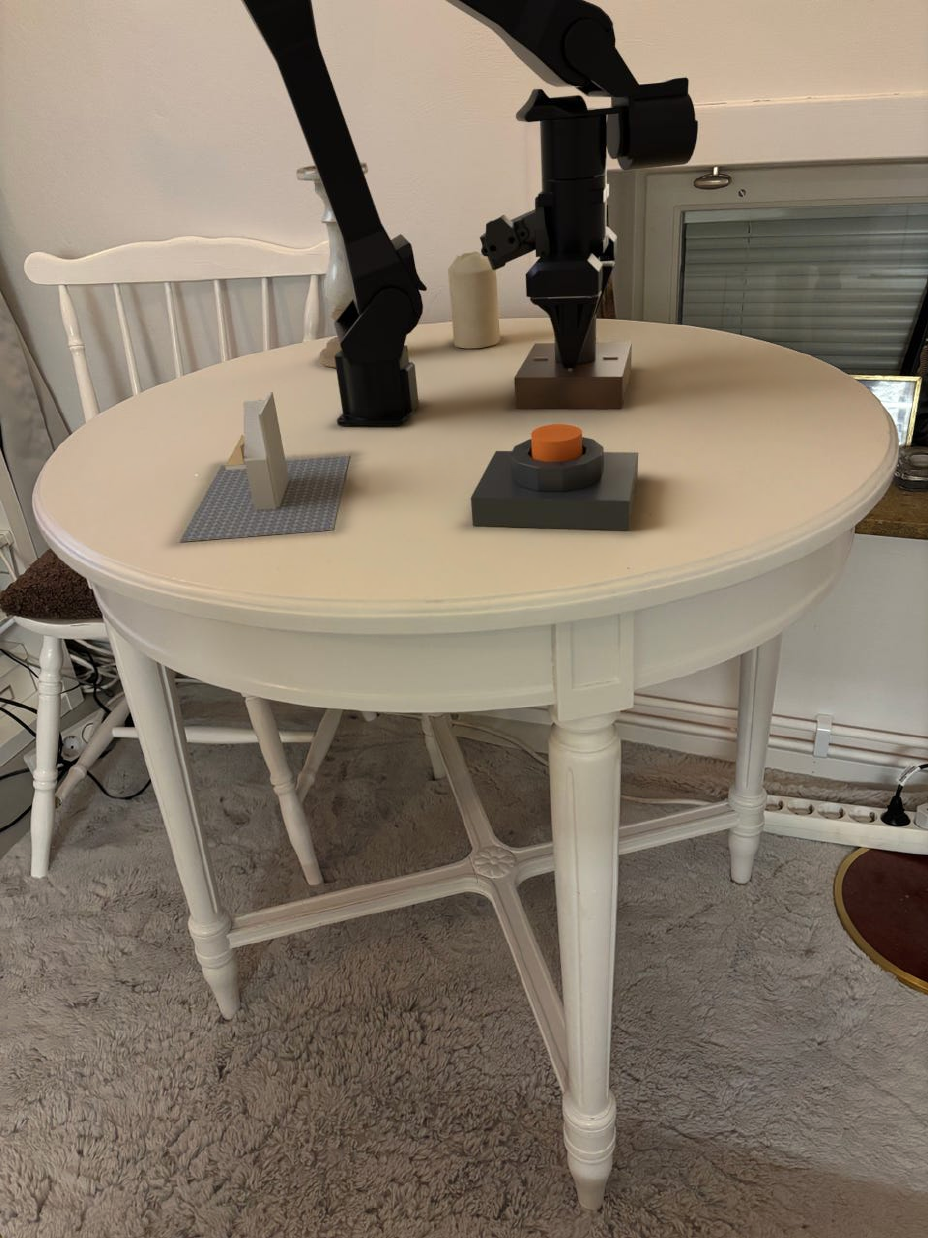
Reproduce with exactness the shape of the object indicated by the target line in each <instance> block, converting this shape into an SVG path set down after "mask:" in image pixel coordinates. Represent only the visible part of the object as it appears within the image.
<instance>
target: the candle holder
mask: <svg viewBox="0 0 928 1238" xmlns="http://www.w3.org/2000/svg"><path fill="white" fill-rule="evenodd" d="M360 164H361V166H362V169H363V172H364V175H366V174H368V172H369V167H368V164H367V163H366V162H364V161H360ZM295 176H296V179H297V180H299V181H310V182H313V184H314V192H315V194H316V195H317V196H318V197H320V199H321V201H322V203H323V205H324V211H323V214H322V217H321V220H320V222H321V223H322V224H325V226H326V231H327V236H328V245H329V257H328V259H329V260H328V265H327V269H326V272H325V276H324V281H323V292H324V296H325V297H326V299H327V301H328V302H329V303H330V304H331V305H332V306H333V307H334V308H333V311H332V312H331V313H330V318H331V319H332V320H333V321H334V322H335V321H336V319H337V318H338V317H339V316H340V314H341V313H342V312H343V310H344V309H345V308H346V306H347V305H348V304H349V302H350V301H351V300H352V298H353V297H352V292H351V287H350V282H349V277H348V273H347V268H346V262H345V256H344V251H343V245H342V239H341V234H340V231H339V228H338V225H337V223H336V220H335V217H334V215H333V212H332V209H331V207H330V204H329V201H328V199H327V196H326V193H325V191H324V188H323V185H322V183H321V180H320V177H319V175H318V172H317V169H316V167H315V164H314V165H309V166H302V167H300V168H297V169H296V171H295ZM340 350H342V349H341V346H340V343H339V340H338V336H335V337H333V338H331V339H329V340H328V341H327V342H326V347H325V348H323V349H321V350H320V352H319V361H320V363H321V364H322V365H323V366H326V367H327V368H328V367H329V368H335V369H336V365H335V358H334V355H336V354H337V353H338V352H339V351H340Z"/></svg>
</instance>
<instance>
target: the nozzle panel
mask: <svg viewBox="0 0 928 1238" xmlns="http://www.w3.org/2000/svg"><path fill="white" fill-rule="evenodd" d="M632 349H633V342H632V341H598V342H597V341H596V359H595V360H593V361H590V362H587V363H581V364H577V365H576V367H575V368H573V369H565V368H564V367H563V364H562V363H559V362H557V361H556V360H555V343H554V342H541V343H540V342H537V343H534V344H533V346H532V347H531V349H530V351H529V352H528V354H527V356H526V357H525V359H524V361H523V363H522V364H521V366H519V369H518V371H517V372H516V374H515V376H514V377H513V381H514V382H513V383H514V404H515V409H516V410H519V409H520V410H524V409H525V410H526V409H527V410H544V409H545V410H546V409H547V410H548V409H549V410H551V409H553V410H554V409H555V410H566V409H567V410H568V409H569V410H573V409H574V410H582V409H584V410H585V409H587V410H596V409H597V410H603V409H604V410H607V409H608V410H610V409H611V410H612V409H613V410H618V409H619V410H622V409H623V407H624V401H625V397H626V394H627V389H628V385H629V381H630V377H631V374H632V357H633V356H632V354H633V353H632V352H633V351H632Z"/></svg>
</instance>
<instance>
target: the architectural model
mask: <svg viewBox="0 0 928 1238" xmlns="http://www.w3.org/2000/svg"><path fill="white" fill-rule="evenodd" d="M279 423H280V422H279V417H278V412H277V407H276V402H275V397H274V392H273V391H269V392H268V395H267V397H266V398H265V399H259V400H248V401H247V400H246V401H243V434H241V436H240V438H239V439H238V441H237V443H236V445H235V447H234V448H233V451H232V452H231V454H230V456H229V457H228V459H227V462H226V463H225V464H224V465H220V467H219V469H218V470H217V472H216V474H215V475H214V477H213V479H212V481H211V483H210V485H209V487H208V488H207V490H206V492H205V494H204V496H203V498H202V499H201V501H200V503H199V505H198V506H197V508H196V510H195V512H194V514H193V515H192V517H191V519H190V520H189V523H188V525H187V527H186V529H185V530H184V532H183V534H182V535H181V538H179V541H178V542H179V543H182V542H183V543H184V542H196V541H197V542H198V541H207V540H208V541H209V540H220V539H221V540H222V539H233V538H235V539H236V538H246V537H259V536H271V535H283V534H297V533H311V532H323V531H333V530H334V526H335V521H336V518H337V513H338V509H339V506H340V500H341V496H342V491H343V487H344V482H345V478H346V474H347V471H348V470H347V469H348V465H349V461H350V457H351V456H350V454H349V455H336V456H324V457H311V458H298V459H286V455H285V450H284V445H283V439H282V434H281V429H280V424H279Z"/></svg>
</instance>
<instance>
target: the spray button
mask: <svg viewBox="0 0 928 1238" xmlns="http://www.w3.org/2000/svg"><path fill="white" fill-rule="evenodd" d="M530 434H531V435H530V436H531V437H530V439H531V442H532V458H533V459H537V460H541V461H544V462H562V461H568V460H573V459H577V458H579V457H581V456H582V437H583V431H582V429H581V428H580V427H578V426H577V425H573V424H567V423H552V424H546V425H542V426H539V427H537V428H534V429H533V430H532V431H531V433H530Z"/></svg>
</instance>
